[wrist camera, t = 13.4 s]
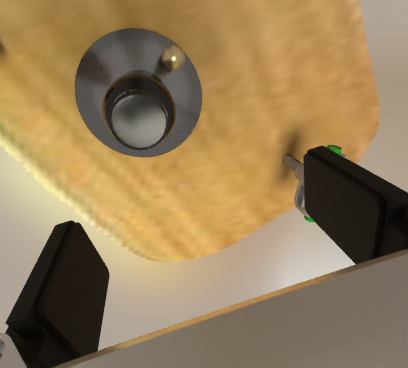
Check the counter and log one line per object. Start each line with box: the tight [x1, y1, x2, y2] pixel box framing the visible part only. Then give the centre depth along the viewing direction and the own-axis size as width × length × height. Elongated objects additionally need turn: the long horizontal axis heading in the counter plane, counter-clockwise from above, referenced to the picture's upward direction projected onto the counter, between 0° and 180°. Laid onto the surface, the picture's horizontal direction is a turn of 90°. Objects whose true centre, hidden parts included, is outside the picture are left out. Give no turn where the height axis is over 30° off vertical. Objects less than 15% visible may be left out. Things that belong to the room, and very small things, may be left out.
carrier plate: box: [75, 29, 202, 157], centre depth 30 cm, size 15×15×4 cm
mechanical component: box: [283, 145, 347, 222], centre depth 35 cm, size 3×10×10 cm, turn 175°
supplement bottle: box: [102, 70, 176, 150], centre depth 26 cm, size 7×7×12 cm
